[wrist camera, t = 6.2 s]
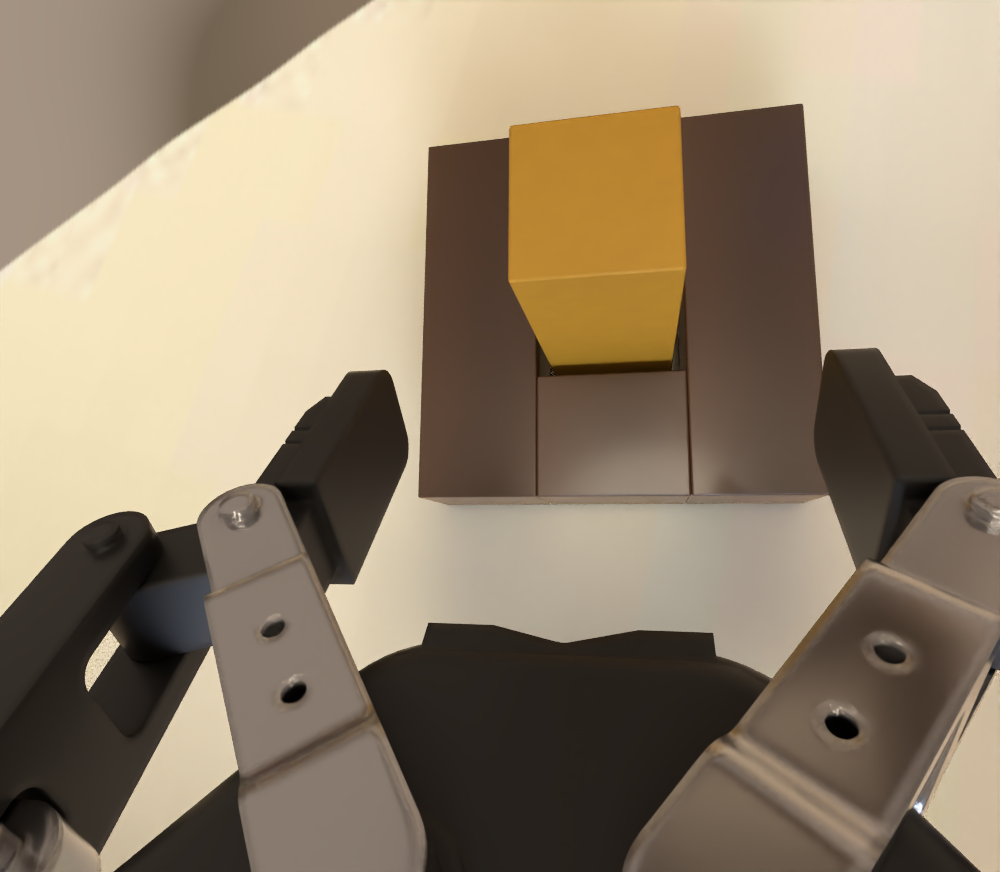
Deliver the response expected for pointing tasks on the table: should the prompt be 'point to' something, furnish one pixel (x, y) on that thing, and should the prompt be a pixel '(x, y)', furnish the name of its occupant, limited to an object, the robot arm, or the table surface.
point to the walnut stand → (633, 395)
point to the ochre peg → (599, 238)
